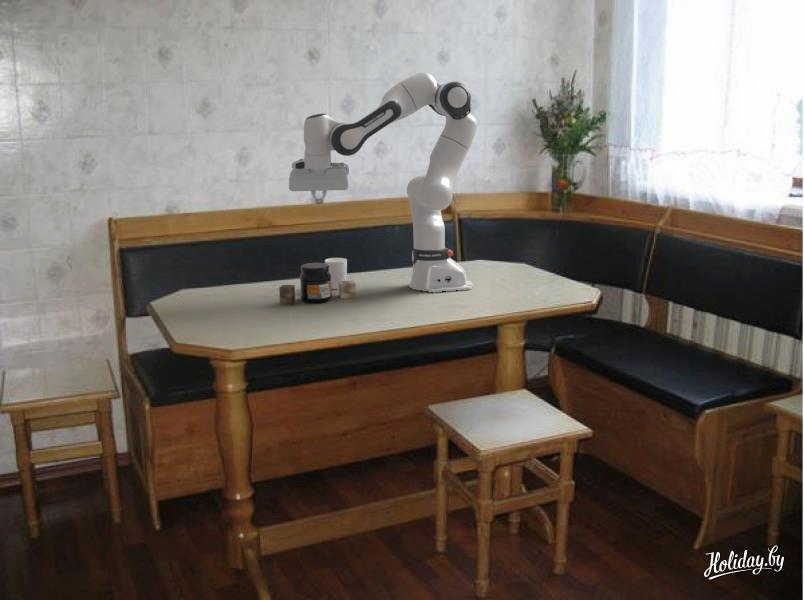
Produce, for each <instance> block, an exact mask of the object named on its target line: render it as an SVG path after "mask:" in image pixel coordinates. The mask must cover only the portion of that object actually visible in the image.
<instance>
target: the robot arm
mask: <svg viewBox="0 0 804 600" xmlns="http://www.w3.org/2000/svg"><path fill="white" fill-rule="evenodd" d="M471 97H472V96H471V92H470V89H469V88H468V87H467V86H466V84H464V83H462V82H460V81H451V82H445V83H442V84H440V83H438V82H437V80H436V79H435V78H434V76H433V75H432V74H430V73H428V72H426V71H422V72H421V71H420V72H419V73H416V74H414V75H411V76H409V77H407V78H406V79H404V80H401V81H400V82H398V83H397V84H396V85H394V86H393V87H391V88H390V89H388V91H387V92H386V93H384V94H383V96H382V99H381V102H380V104H379V105H378V107H376V108H375V110H373V111H372V112H370V113H368V114H367V115H365V116H364V117H362V118H361V119H360V120H358V121H356V122H353V123H345V122H341V121H339V120H336V119H334V118H333V117H331V116H330V115H328V114H327V113H318V114H317V113H316V114H311V115H309V116H308V117H306V118H305V120H304V122H303V123H304V124H303V143H304V148H305V149H304V157H303V158H300V159H298V160H295V161H293V162H292V163H291V171H290V172H289V179H288V190H289V191H291V192H311V196H312V198H313V199H314V205H324V204H325V203H324V201H325V200H324V199H325V197H326V196H327V191H328V192H329V191H347V190H348V189H349V180H348V179H349V178H348V175H349V174H350V167H349V165H348V164H346V163H344V162H332V159H331V158H332V154H331V153H332V151H335V152H337V153H338V154H339V155H341V156H344V157H350V156H353V155H355V154H356V153H358V152H359V151H360V150H361V148H362V147H363V145H364V144H365V142H366V141H367V140H368V139H369V138H371V137H372V136H373V135H375V134H377V133H378V132H379V131H381V130H383V129H384V128H385V127H387V126H389V125H390V124H393V123H396V122H397V121H400V120H402V119H405V118H407V117H409V116H410V115H413V114H414V113H416V112H417V111H419V110H421V109H422V108H424V107H426V106H429V107H430V108H431V109H432V111H434V112H435V113H436V114H437V115H440V116H443V117H445V125H444V128H443V130H442V132H441V134H440V135H439V137H438V140H437V141H436V143H435V145H434V147H433V149H432V151H431V154H430V156H429V164H428V168H427V171H426V173H425V175H417V176H416V177H414V178H412V179H411V180H409V182H408V184H407V187H406V195H407V198H408V202H409V207H410V209H409V210H410V214H411V219H412V220H411V221H412V226H413V227H412V231H413V232H412V233H413V237H412V238H413V247H412V251H411V261H412V264H413V265H412V274H411V279H410V283H409V288H410V289H412V290H416V291H421V290H422V291H421V292H426V291H428V292H427V293H431V292H433V293H442V291H446V292H457V291H456V290H458V291H467V290H472V289H473V282H472V281H471V280H470V279H468V278H467V273H466V271H465V269H464V267H462V265H460V264H459V263H458V262H456V260H454V259H452V258H451V257H453V256H454V252H453V250H452V249H449V248H447V247H446V245H445V244H446V243H445V241H446V240H445V239H446V237H445V236H446V233H445V232H446V230H445V229H446V227H445V223H444V219H443V217H442V211H444V210H446V209H447V208H449V206H450V205H451V204H452V201H453V190H454V186H455V184H456V179H457V176H458V174H459V170H460V168H461V166H462V164H463V163H464V159H465V158H466V156H467V154H468V152H469V150H470V147H471V146H472V144H473V141H474V139H475V136H476V133H477V129H478V121H477V119H476V117H474V116H473V114H471V110H472V108H471V105H472V104H471V101H472V98H471ZM317 191H319V192H322V193H321V194H322V196H321V197H318V198H317V196H316V194H317V193H316V192H317Z"/></svg>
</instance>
